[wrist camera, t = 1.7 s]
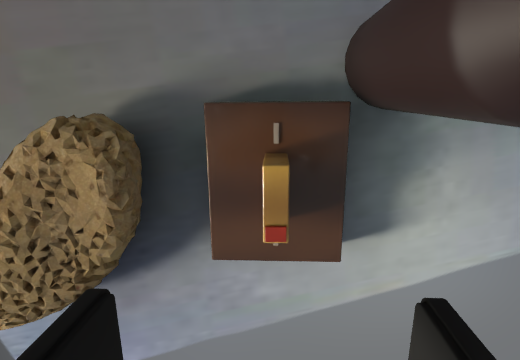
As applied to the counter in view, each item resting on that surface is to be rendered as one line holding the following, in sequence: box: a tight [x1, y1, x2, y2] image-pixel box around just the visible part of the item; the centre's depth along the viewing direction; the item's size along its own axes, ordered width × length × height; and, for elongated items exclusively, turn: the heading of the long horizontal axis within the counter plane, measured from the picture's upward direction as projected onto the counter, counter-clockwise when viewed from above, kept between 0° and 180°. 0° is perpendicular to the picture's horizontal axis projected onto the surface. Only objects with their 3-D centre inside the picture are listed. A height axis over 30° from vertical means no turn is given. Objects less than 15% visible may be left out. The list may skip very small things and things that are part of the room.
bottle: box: [345, 0, 520, 127], centre depth 14 cm, size 7×7×20 cm
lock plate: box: [204, 101, 351, 262], centre depth 24 cm, size 12×10×3 cm
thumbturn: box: [262, 153, 290, 243], centre depth 21 cm, size 5×2×4 cm, turn 1°
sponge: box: [0, 113, 142, 330], centre depth 24 cm, size 13×8×20 cm
